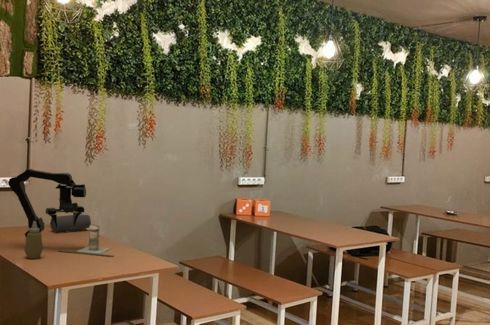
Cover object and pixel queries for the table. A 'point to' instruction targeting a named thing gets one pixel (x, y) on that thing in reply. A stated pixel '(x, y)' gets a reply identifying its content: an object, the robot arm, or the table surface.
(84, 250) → the mat
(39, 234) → the squeeze bottle
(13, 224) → the table surface
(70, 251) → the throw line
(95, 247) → the skittle
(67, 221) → the bluetooth speaker
